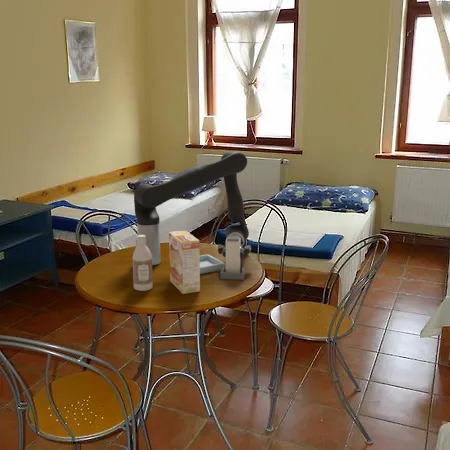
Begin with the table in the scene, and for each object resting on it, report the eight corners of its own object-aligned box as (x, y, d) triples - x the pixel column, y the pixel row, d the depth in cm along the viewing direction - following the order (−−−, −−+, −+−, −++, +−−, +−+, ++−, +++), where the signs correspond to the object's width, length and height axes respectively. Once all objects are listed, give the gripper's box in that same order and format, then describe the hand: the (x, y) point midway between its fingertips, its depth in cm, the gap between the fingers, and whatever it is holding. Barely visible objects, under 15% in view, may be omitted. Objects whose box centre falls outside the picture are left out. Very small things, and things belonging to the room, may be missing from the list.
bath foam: (134, 292, 198) (132, 238, 193) (133, 285, 204) (131, 233, 199) (153, 290, 199) (152, 237, 194) (151, 284, 206) (150, 232, 201)
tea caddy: (239, 276, 215) (240, 239, 211) (225, 275, 215) (225, 239, 211) (240, 271, 221) (240, 235, 217) (226, 270, 221) (226, 234, 217)
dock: (244, 279, 211) (244, 273, 210) (220, 279, 212) (220, 272, 211) (244, 272, 219) (244, 266, 219) (222, 271, 220) (222, 265, 219)
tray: (194, 275, 215) (194, 268, 215) (178, 265, 227) (178, 259, 226) (225, 269, 223) (225, 263, 222) (208, 260, 234) (208, 254, 233)
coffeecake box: (169, 280, 209) (168, 231, 204) (186, 278, 212) (186, 229, 207) (182, 294, 196) (181, 242, 191) (200, 291, 199) (200, 240, 194)
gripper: (217, 233, 229) (214, 245, 213) (252, 234, 228) (251, 246, 212) (217, 250, 231) (214, 263, 215) (252, 251, 230) (251, 264, 214)
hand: (232, 254), depth 213 cm, fingers closed on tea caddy, 5 cm apart
